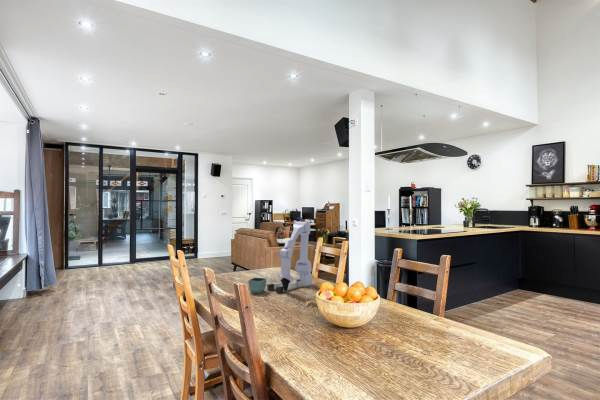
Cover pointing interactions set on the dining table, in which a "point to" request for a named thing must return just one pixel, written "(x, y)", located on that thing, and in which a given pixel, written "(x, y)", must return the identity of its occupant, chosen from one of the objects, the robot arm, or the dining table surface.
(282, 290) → the bar
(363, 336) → the dining table surface
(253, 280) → the flower pot
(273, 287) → the tongs fixed
